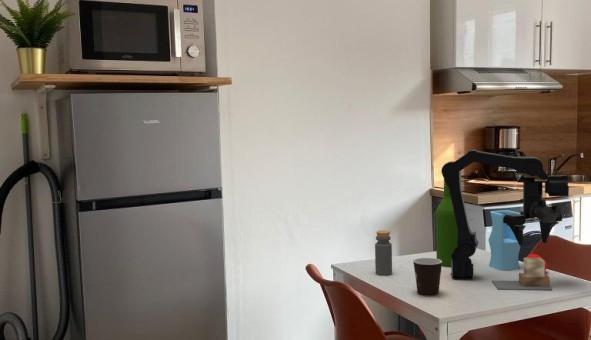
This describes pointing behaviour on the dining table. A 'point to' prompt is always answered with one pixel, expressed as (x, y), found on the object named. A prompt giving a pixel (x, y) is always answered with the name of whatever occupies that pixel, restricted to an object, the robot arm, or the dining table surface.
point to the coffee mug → (427, 275)
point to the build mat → (515, 286)
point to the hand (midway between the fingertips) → (532, 244)
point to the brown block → (534, 281)
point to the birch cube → (534, 267)
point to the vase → (503, 243)
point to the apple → (536, 257)
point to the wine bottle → (446, 229)
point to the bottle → (383, 253)
